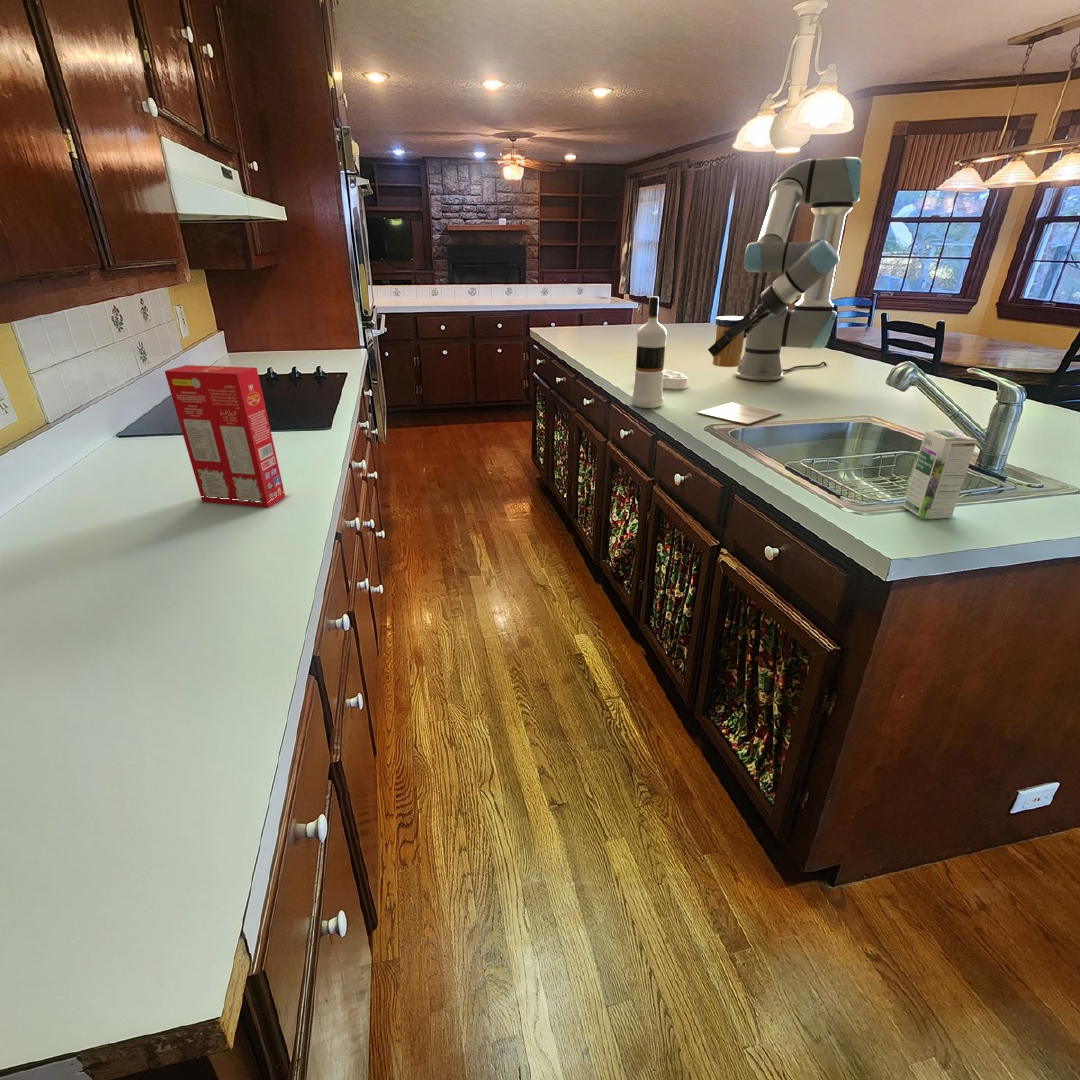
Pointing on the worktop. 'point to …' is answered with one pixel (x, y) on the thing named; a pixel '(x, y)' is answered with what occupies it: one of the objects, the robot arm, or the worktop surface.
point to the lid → (727, 320)
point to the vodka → (650, 361)
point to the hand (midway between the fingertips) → (716, 350)
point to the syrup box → (939, 473)
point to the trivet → (739, 413)
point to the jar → (729, 349)
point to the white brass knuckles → (674, 380)
